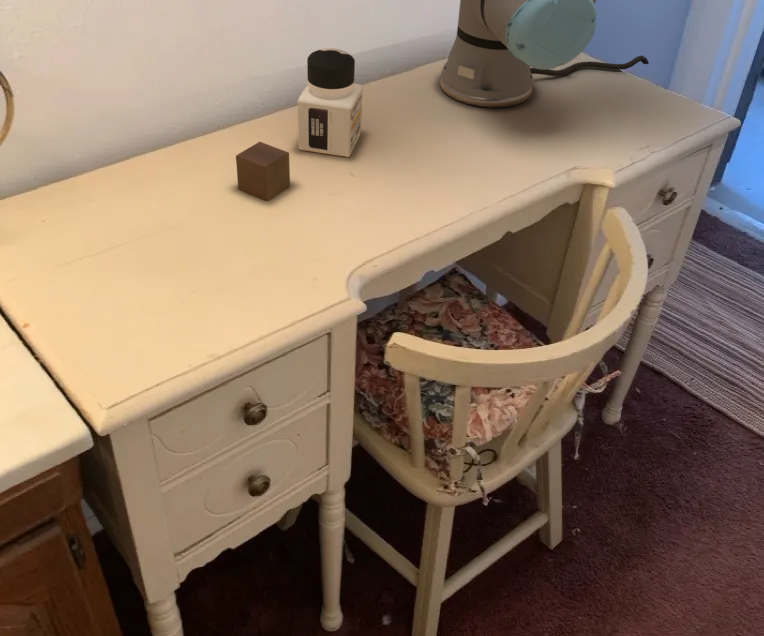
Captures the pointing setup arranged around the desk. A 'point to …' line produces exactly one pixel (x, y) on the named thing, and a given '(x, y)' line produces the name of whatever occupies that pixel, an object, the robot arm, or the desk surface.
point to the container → (330, 104)
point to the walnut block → (263, 170)
